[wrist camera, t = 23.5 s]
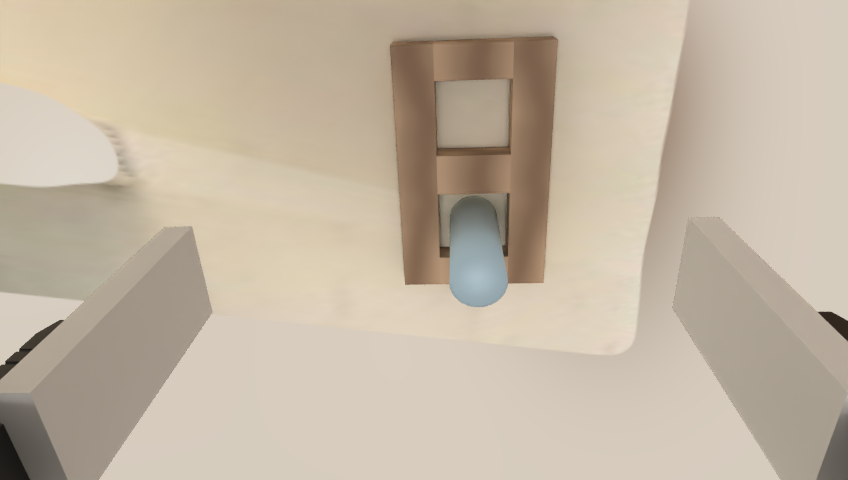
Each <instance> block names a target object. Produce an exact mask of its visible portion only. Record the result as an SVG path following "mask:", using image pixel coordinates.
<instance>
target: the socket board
mask: <svg viewBox="0 0 848 480" xmlns="http://www.w3.org/2000/svg"><path fill="white" fill-rule="evenodd" d="M557 46H558V40H557V39H556V38H555V37H525V38H497V39H470V40H442V41H414V42H393V43H392V44H391V45H390V50H391V66H392V82H393V98H394V114H395V130H396V146H397V162H398V178H399V194H400V210H401V226H402V242H403V258H404V274H405V285H409V284H450V247H440V227H439V194H483V193H507V229H506V246H502V249H503V255H504V261H505V267H506V272H507V278H508V283H543V281H544V264H545V248H546V231H547V214H548V197H549V180H550V164H551V147H552V130H553V113H554V97H555V80H556V63H557ZM484 79H510V113H509V147H491V148H452V149H437V129H436V96H435V81H453V80H484Z"/></svg>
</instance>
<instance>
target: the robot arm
mask: <svg viewBox="0 0 848 480" xmlns="http://www.w3.org/2000/svg"><path fill="white" fill-rule="evenodd" d="M672 308H673V310H674V312H675V313H676V315H677V316H678V318H679V319H680V321H681V323H682V324H683V326H684V327H685V329H686V331H687V332H688V334H689V335H690V337H691V338H692V340H693V342H694V343H695V345H696V346H697V348H698V349H699V351H700V353H701V354H702V356H703V357H704V359H705V361H706V362H707V364H708V365H709V367H710V368H711V370H712V372H713V373H714V375H715V376H716V378H717V380H718V381H719V383H720V384H721V386H722V388H723V389H724V390H725V392H726V394H727V395H728V397H729V399H730V400H731V402H732V403H733V405H734V407H735V408H736V410H737V411H738V413H739V414H740V416H741V418H742V419H743V421H744V422H745V424H746V426H747V427H748V429H749V430H750V432H751V433H752V435H753V436H754V438H755V440H756V441H757V443H758V444H759V446H760V448H761V449H762V451H763V452H764V454H765V455H766V457H767V459H768V460H769V462H770V463H771V465H772V467H773V468H774V470H775V471H776V473H777V475H778V476H779V478H780V479H781V480H848V321H847V320H845V319H844V318H842V317H840V316H838V315H836V314H834V313H832V312H817V311H816V310H815V309H814V308H813V307H812V306H810V305H809V304H808V303H807V302H806V301H805V300H804V299H803V298H802V297H801V296H800V295H799V294H798V293H797V292H796V291H795V290H794V289H793V288H792V287H791V286H790V285H789V284H788V283H787V282H786V281H785V280H784V279H783V278H781V277H780V276H779V275H778V274H777V273H776V272H775V271H774V270H773V269H772V268H771V267H770V266H769V265H768V264H767V263H766V262H765V261H764V260H763V259H762V258H761V257H760V256H759V255H758V254H757V253H756V252H754V250H752V249H751V248H750V247H749V246H748V245H747V244H746V243H745V242H744V241H743V240H742V239H741V238H740V237H739V236H738V235H737V234H736V233H735V232H734V231H733V230H732V229H731V228H730V227H729V226H728V225H727V224H726V223H725V222H724V221H722V220H721V219H720V218H719V217H696V218H688V222H687V229H686V234H685V239H684V245H683V251H682V256H681V263H680V268H679V273H678V279H677V285H676V290H675V296H674V301H673V307H672ZM211 314H212V308H211V304H210V300H209V296H208V292H207V287H206V283H205V279H204V275H203V271H202V266H201V262H200V258H199V254H198V250H197V245H196V241H195V237H194V233H193V229H192V227H164V228H163V229H162V230H161V231H160V232H159V233H158V234H156V235H155V236H154V237H153V238H152V239H151V240H150V241H149V242H148V243H147V244H146V245H145V246H144V247H142V248H141V249H140V250H139V251H138V252H137V253H136V254H135V255H134V256H133V257H132V258H131V259H130V260H129V261H127V262H126V263H125V264H124V265H123V266H122V267H121V268H120V269H119V270H118V271H117V272H116V273H115V274H113V275H112V276H111V277H110V278H109V279H108V280H107V281H106V282H105V283H104V284H103V285H102V286H101V287H99V288H98V289H97V290H96V291H95V292H94V293H93V294H92V295H91V296H90V297H89V298H88V299H87V300H86V301H84V302H83V303H82V304H81V305H80V306H79V307H78V308H77V309H76V310H75V311H74V312H73V313H72V314H70V316H68V317H67V318H66V319H65V320H59V321H58V322H56V323H54V324H52V325H50V326H49V327H47V328H45V329H44V330H42V331H40V332H38V333H36V334H35V335H34V336H33V337H32V338H31V339H30V340H29V341H28V342H26V343H25V344H24V345H23V346H22V347H21V348H20V350H19V352H16V353H14V354H13V355H12V356H11V357H10V358H9V359H7V360H6V361H5V362H6V364H5V365H1V366H0V480H99V479H100V477H101V476H102V474H103V473H104V471H105V470H106V468H107V467H108V465H109V464H110V462H111V461H112V459H113V458H114V457H115V455H116V454H117V452H118V451H119V449H120V448H121V446H122V444H123V443H124V442H125V440H126V439H127V437H128V436H129V434H130V433H131V431H132V430H133V429H134V427H135V426H136V424H137V423H138V421H139V420H140V418H141V417H142V415H143V414H144V412H145V411H146V409H147V408H148V406H149V405H150V403H151V402H152V400H153V399H154V398H155V396H156V394H157V393H158V392H159V390H160V389H161V387H162V386H163V384H164V383H165V381H166V380H167V379H168V377H169V376H170V374H171V373H172V371H173V370H174V368H175V367H176V365H177V364H178V362H179V361H180V359H181V358H182V356H183V355H184V354H185V352H186V351H187V349H188V348H189V346H190V345H191V343H192V342H193V340H194V339H195V337H196V336H197V334H198V333H199V331H200V330H201V328H202V327H203V326H204V324H205V323H206V321H207V320H208V318H209V317H210V315H211Z"/></svg>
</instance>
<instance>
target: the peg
mask: <svg viewBox="0 0 848 480" xmlns="http://www.w3.org/2000/svg"><path fill="white" fill-rule="evenodd" d="M507 285H508V278H507V272H506V267H505V261H504V255H503V249H502V244H501V238H500V232H499V226H498V221H497V215H496V211H495V208H494V207H493V205H492V204H491V203H490V202H489V201H488V200H486V199H484V198H481V197H477V196H471V197H466V198H463V199H461V200H460V201H458V202H457V203H456V204H455V205H454V207H453V208H452V210H451V214H450V289H451V291H452V293H453V295H454V296H455V297H456V299H458V300H459V301H460V302H461V303H463V304H465V305H468V306H472V307H484V306H488V305H491V304H493V303H495V302H497V301H498V300H499V299H500V298H501V297H502V296H503V295H504V293H505V291H506V289H507Z"/></svg>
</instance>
